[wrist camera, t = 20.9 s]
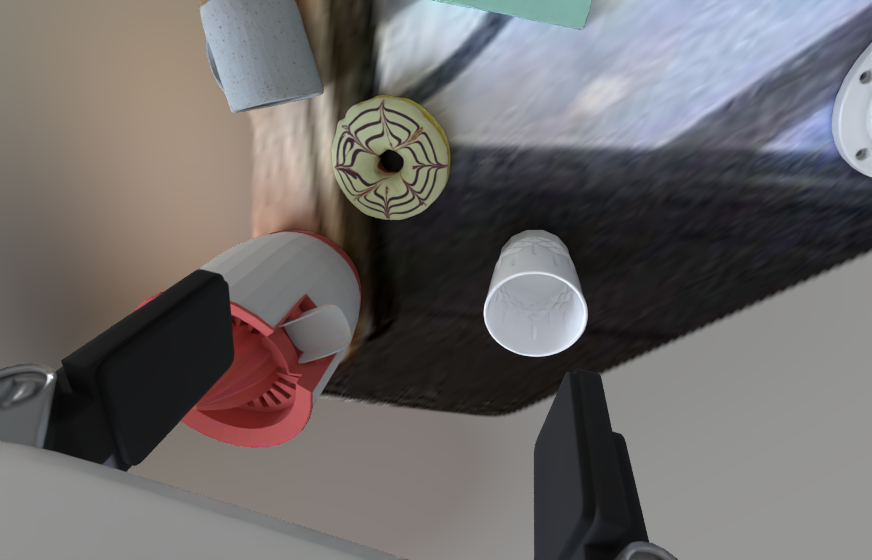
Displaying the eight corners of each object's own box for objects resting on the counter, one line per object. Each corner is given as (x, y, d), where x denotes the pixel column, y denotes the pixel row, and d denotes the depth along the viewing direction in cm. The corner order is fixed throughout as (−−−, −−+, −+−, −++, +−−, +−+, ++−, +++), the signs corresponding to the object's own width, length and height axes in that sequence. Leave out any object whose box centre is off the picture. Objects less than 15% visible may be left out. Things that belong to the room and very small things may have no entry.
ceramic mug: (306, -19, 34) (250, -33, 28) (339, 90, 38) (296, 100, 31) (201, 19, 38) (129, 14, 31) (241, 116, 41) (183, 130, 34)
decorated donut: (320, 154, 41) (302, 164, 38) (391, 65, 36) (377, 67, 33) (399, 231, 43) (388, 246, 40) (476, 157, 38) (470, 167, 35)
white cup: (592, 243, 40) (608, 297, 32) (551, 307, 44) (556, 370, 36) (514, 209, 40) (509, 254, 31) (480, 276, 44) (468, 333, 35)
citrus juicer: (414, 318, 48) (349, 470, 31) (289, 344, 54) (174, 485, 37) (357, 187, 42) (236, 285, 25) (222, 232, 48) (47, 338, 30)
